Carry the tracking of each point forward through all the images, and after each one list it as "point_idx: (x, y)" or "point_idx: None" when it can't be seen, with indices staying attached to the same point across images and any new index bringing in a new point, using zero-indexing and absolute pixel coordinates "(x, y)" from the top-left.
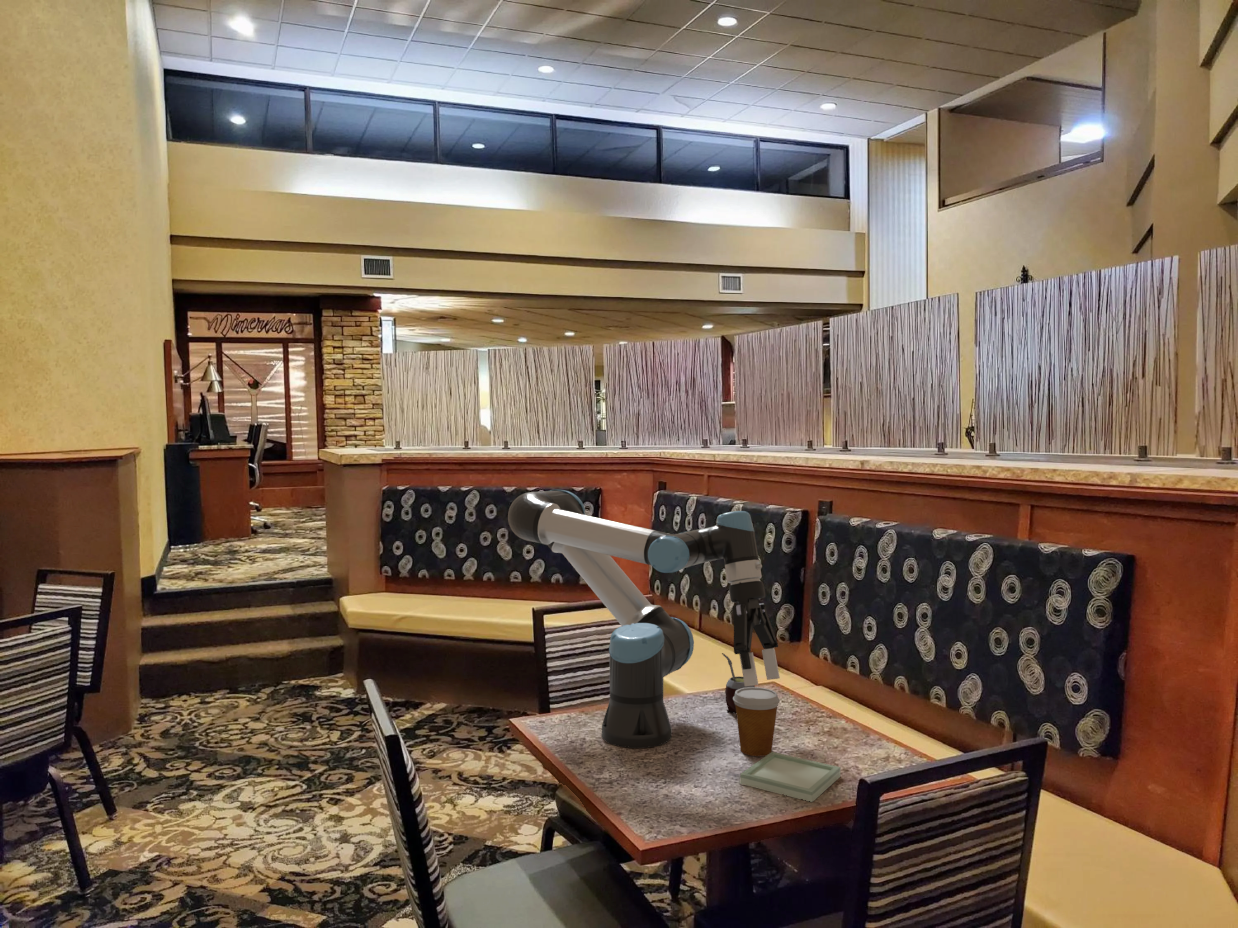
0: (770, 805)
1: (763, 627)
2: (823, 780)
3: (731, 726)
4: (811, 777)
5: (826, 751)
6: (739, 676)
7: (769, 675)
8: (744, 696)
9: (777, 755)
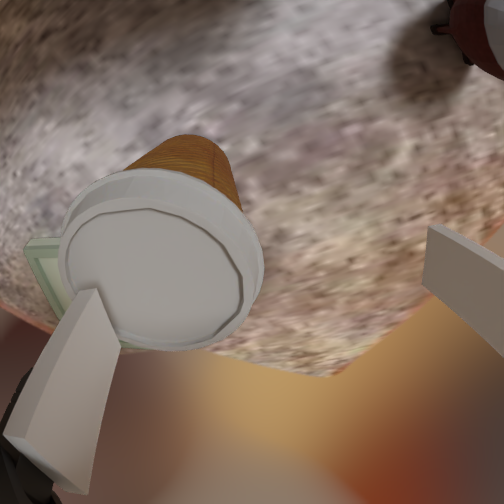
0: (28, 298)
1: None
2: None
3: (344, 27)
4: None
5: (288, 291)
6: None
7: (438, 250)
8: (90, 258)
9: None
